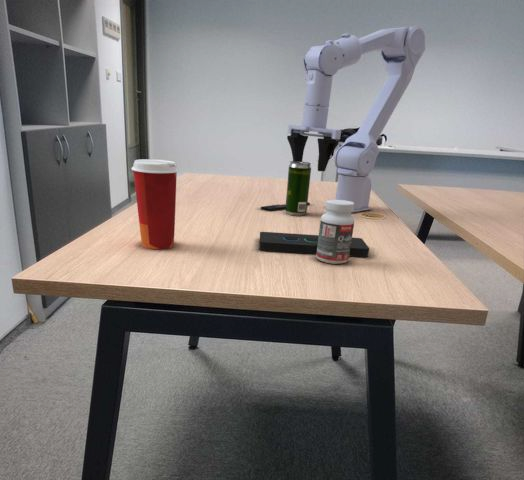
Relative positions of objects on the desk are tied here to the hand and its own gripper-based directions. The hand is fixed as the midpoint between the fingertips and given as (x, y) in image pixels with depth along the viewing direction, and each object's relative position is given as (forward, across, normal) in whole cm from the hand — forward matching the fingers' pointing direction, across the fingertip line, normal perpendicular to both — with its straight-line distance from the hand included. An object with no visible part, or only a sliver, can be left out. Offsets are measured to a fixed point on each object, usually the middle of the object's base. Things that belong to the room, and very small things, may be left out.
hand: (309, 168), depth 115 cm
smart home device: (+11, +23, -25) cm, 36 cm away
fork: (+10, -7, +1) cm, 13 cm away
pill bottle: (+11, +30, -28) cm, 43 cm away
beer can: (+11, 0, -3) cm, 11 cm away
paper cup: (+12, +6, -48) cm, 50 cm away
